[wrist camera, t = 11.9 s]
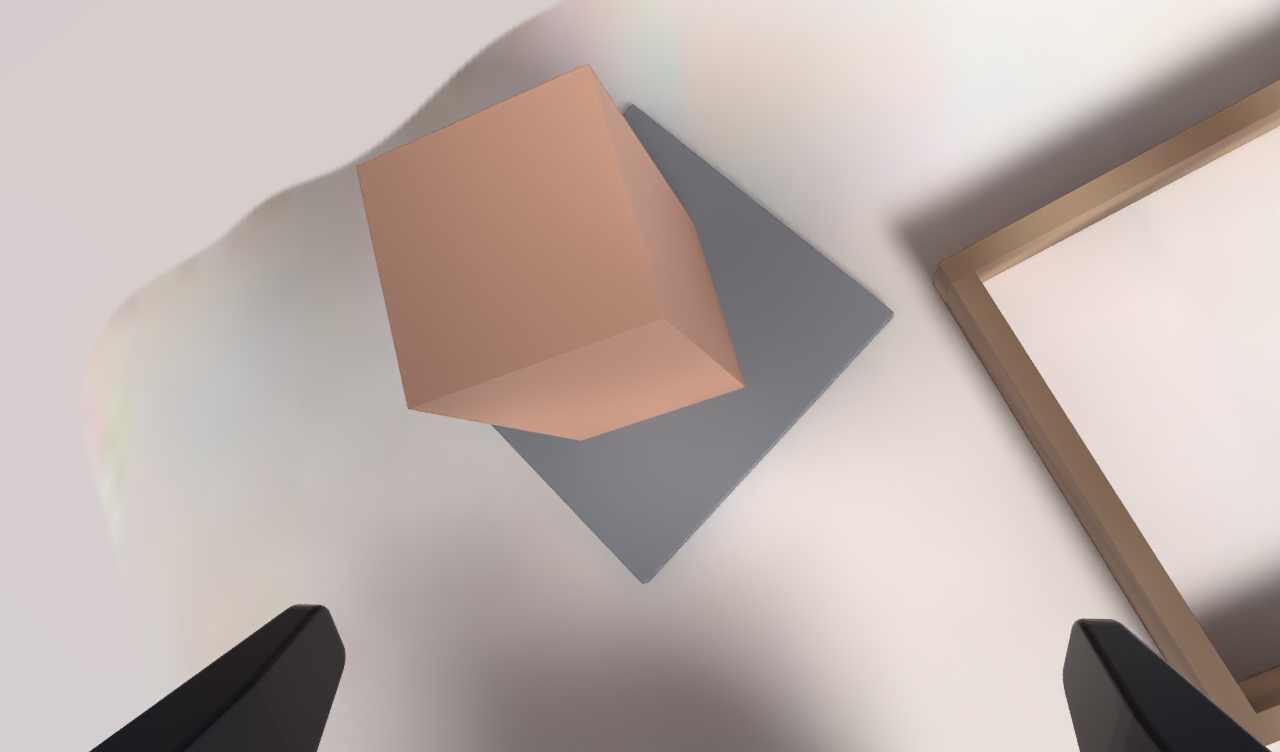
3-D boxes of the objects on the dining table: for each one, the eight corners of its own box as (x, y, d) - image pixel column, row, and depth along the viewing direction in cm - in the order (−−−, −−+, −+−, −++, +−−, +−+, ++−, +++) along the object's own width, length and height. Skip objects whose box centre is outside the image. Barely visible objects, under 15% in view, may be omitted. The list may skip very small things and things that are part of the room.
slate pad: (648, 581, 22) (642, 584, 22) (431, 353, 25) (421, 350, 25) (893, 317, 22) (893, 311, 21) (638, 113, 25) (632, 103, 24)
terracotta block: (745, 387, 22) (663, 318, 13) (580, 440, 23) (407, 409, 14) (694, 224, 23) (588, 63, 14) (539, 282, 24) (356, 166, 16)
